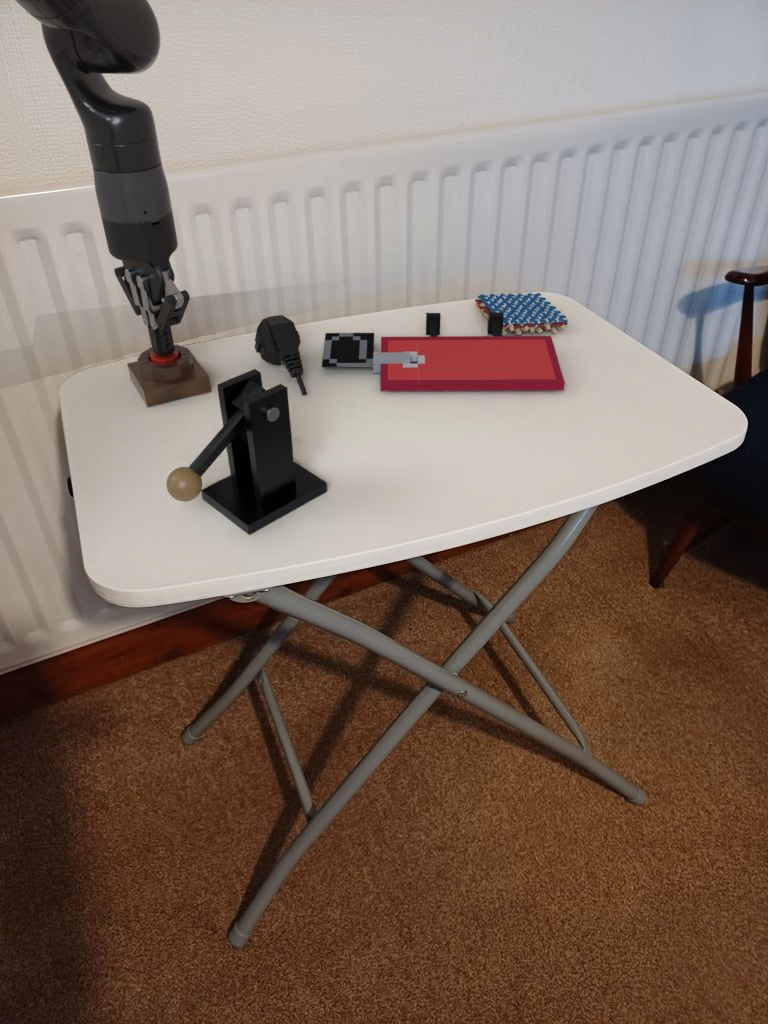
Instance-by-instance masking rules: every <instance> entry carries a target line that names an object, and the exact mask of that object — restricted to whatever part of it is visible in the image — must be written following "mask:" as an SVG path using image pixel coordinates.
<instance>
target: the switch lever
mask: <svg viewBox="0 0 768 1024" xmlns="http://www.w3.org/2000/svg"><path fill="white" fill-rule="evenodd" d="M266 390H267V389H265V388H264V387H263V386H262V387H261V386H259V385H257V384H256V383H254V382H252V381H249V382H248V383H247V385H246V386H245V387H244V388H243V389H242V390H241V392H240V393H239V394H238V395H237V396H236V397H235V399H234V400H233V401H232V402H231V403H232V404H233V405H234V406H235V407H236V408H237V409H238V410H237V411H236V412H235V414H234V415H233V416H232V417H231V418H230V419H229V421H228V422H227V423H226V424H225V425H224V426H223V425H222V427H221V429H220V430H219V431H218V432H217V433H216V434H215V436H214V437H213V438H212V439H211V440H210V441H209V442H208V444H207V445H206V446H205V447H204V448H203V450H202V451H201V452H200V453H199V454H198V456H197V457H195V459H194V460H193V461H192V463H191V464H190V465H188V466H181V467H180V466H179V467H177V468H175V469H173V470H172V471H171V472H170V473H169V474H168V476H167V479H166V484H165V485H166V490H167V493H168V494H169V495H170V496H171V497H172V498H173V499H174V500H176V501H178V502H182V503H183V502H184V503H185V502H190V501H194V499H196V498H197V497H198V496H199V495H200V494H201V490H202V489H203V480H202V476H203V475H204V474H205V473H206V472H207V471H208V470H209V468H210V467H211V466H212V465H213V464H214V462H216V460H217V459H218V458H219V456H220V455H221V454H222V453H223V452H224V451H225V450H226V449H227V446H228V445H229V443H230V442H231V441H232V440H233V439H234V438H235V436H236V435H237V434H238V433H239V432H240V431H241V429H242V428H243V427H244V426H245V425H246V422H245V415H244V407H243V400H245V399H247V398H250V397H252V396H254V395H256V394H259V393H261V392H263V391H266Z"/></svg>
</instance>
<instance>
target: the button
mask: <svg viewBox="0 0 768 1024" xmlns="http://www.w3.org/2000/svg"><path fill="white" fill-rule="evenodd" d="M150 358H151V362H152V363H155V364H168V363H172V362H175V361H177V360H178V359H180V358H179V352H178V350H177V349H175V350H174V352H173V353H172V354H169V355H167V356H164V357H160V356H159V355H157V354H155V353H154V352H153V351H152V352H151V354H150Z"/></svg>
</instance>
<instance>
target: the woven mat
mask: <svg viewBox="0 0 768 1024" xmlns="http://www.w3.org/2000/svg"><path fill="white" fill-rule="evenodd" d="M546 300H547V298H546V297H544V296H543V297H542V293H540V292H537V293H531V292H527V293H524V294H523V293H521V292H518V293H514V294H512V293H503V292H501V293H497V294H494V293H490V294H484V293H482V294H480V295H479V294H478V295H477V299H476V298H475V299H474V302H475V303H474V306H475V307H477V308H478V310H480V311H481V312H482V314H483V315H484V317H485V318H486V319H487V320H488V318H489V313H503V315H504V318H503V327H502V335H501V336H507V331H508V332H510V333H512V332H515V333H516V335H517V336H521V334H522V332H524V333H527V332H530V333H531V334H534V333H535V331H536V332H537V333H538V334H541V333H542V332H543V330H544V331H550V332H551V333H552V334H556V333H558V331H557V330H559V331H564V330H565V329H566V328H567V326H568V323H569V321H568V319H566V318H567V316H566V315H563V314H561V313H562V311H560V310H556V309H557V307H556V306H555V305H551V304H552V302H551V301H546ZM506 330H507V331H506Z"/></svg>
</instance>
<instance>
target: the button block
mask: <svg viewBox="0 0 768 1024" xmlns="http://www.w3.org/2000/svg"><path fill="white" fill-rule="evenodd" d="M174 348H175V349H177V350H178V352H179V358H180V359H178V360H177V361H175V362H172V363H168V364H155V363H152V362H151V358H150V354H151V352H152V351H153V350H152V346H151V347H150V348H148V349H145V350H144V351H142V352H141V353H140V354H139V356H138V358H137V360H136V361H132V362H128V363H127V364H126V365H127V369H128V374H129V379H130V380H131V382H132V384H133V386H134V387H135V389H136V391H137V392H138V394H139V396H140V397H141V399H142V401H143V403H144V404H145V406H146V407H147V408H151V407H154V406H159V405H163V404H166V403H170V402H175V401H179V400H182V399H187V398H190V397H191V398H192V397H195V396H198V395H202V394H206V393H210V392H212V388H211V387H212V386H211V382H210V375H208V373H207V371H206V370H205V369H204V368H203V367H202V365H201V364H200V362H199V361H198V360H197V359H196V357H195V356H194V354H193V353H192V352H191V350H190V349H189V348H188V347H186V346H182V345H179V344H174Z"/></svg>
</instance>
